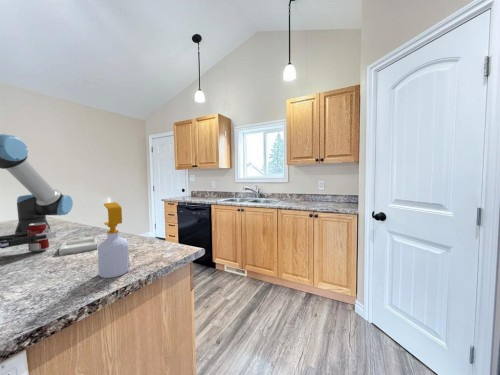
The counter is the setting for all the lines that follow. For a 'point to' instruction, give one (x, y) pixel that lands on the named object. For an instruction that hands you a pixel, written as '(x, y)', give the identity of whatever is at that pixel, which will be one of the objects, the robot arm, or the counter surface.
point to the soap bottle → (113, 246)
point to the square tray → (78, 246)
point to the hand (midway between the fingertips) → (52, 233)
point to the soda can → (38, 229)
